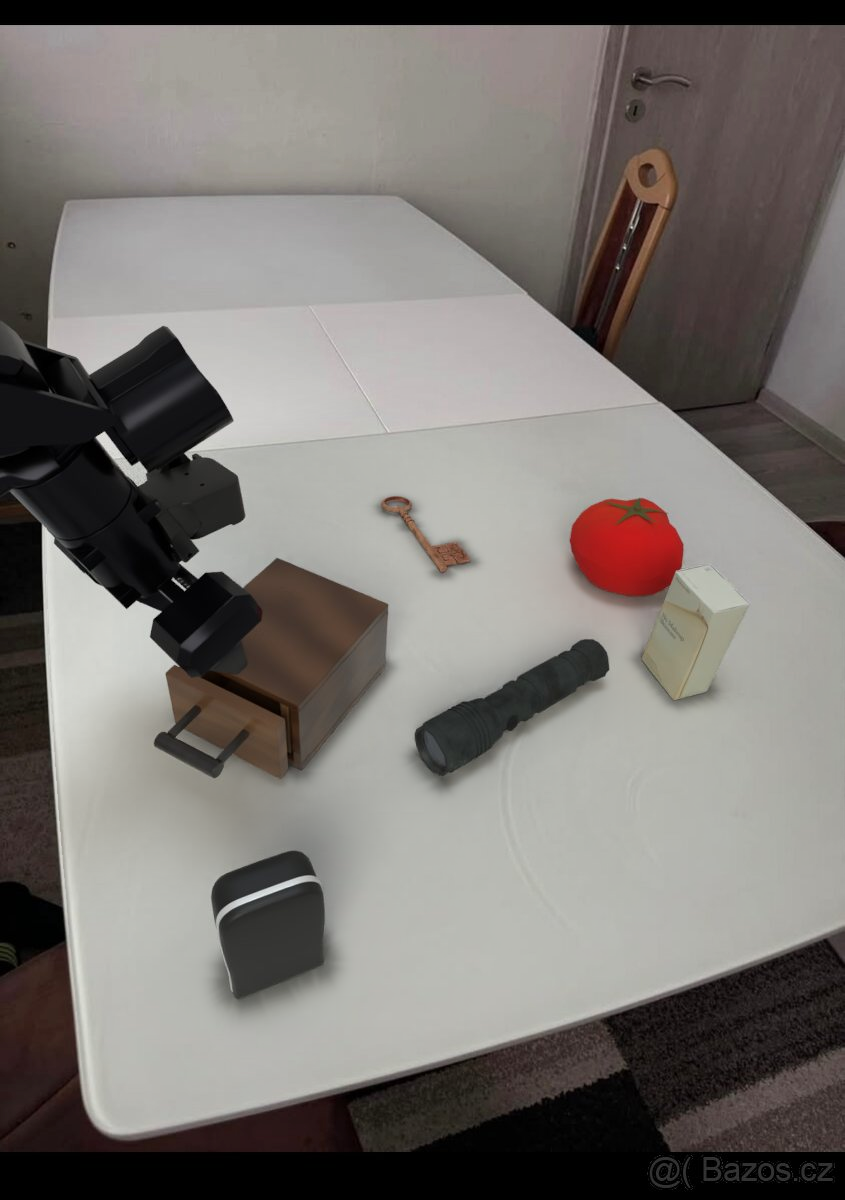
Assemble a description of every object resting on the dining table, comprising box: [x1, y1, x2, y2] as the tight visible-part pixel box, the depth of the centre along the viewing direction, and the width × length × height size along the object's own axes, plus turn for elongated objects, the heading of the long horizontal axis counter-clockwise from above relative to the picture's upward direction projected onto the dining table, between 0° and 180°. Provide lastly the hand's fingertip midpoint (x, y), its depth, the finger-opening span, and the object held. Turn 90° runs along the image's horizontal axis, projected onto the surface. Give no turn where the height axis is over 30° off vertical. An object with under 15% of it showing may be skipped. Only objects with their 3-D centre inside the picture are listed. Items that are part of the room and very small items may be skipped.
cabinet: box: [215, 557, 389, 771], centre depth 75 cm, size 15×13×9 cm
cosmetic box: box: [641, 562, 751, 701], centre depth 79 cm, size 6×4×12 cm
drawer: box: [153, 664, 293, 780], centre depth 72 cm, size 18×11×7 cm, turn 152°
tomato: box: [569, 497, 685, 597], centre depth 91 cm, size 11×13×10 cm
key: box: [380, 495, 472, 573], centre depth 98 cm, size 6×1×15 cm
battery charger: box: [210, 850, 326, 999], centre depth 55 cm, size 7×4×11 cm, turn 115°
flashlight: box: [414, 638, 610, 777], centre depth 75 cm, size 5×21×5 cm, turn 128°
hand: (208, 638), depth 62 cm, fingers open, 9 cm apart
